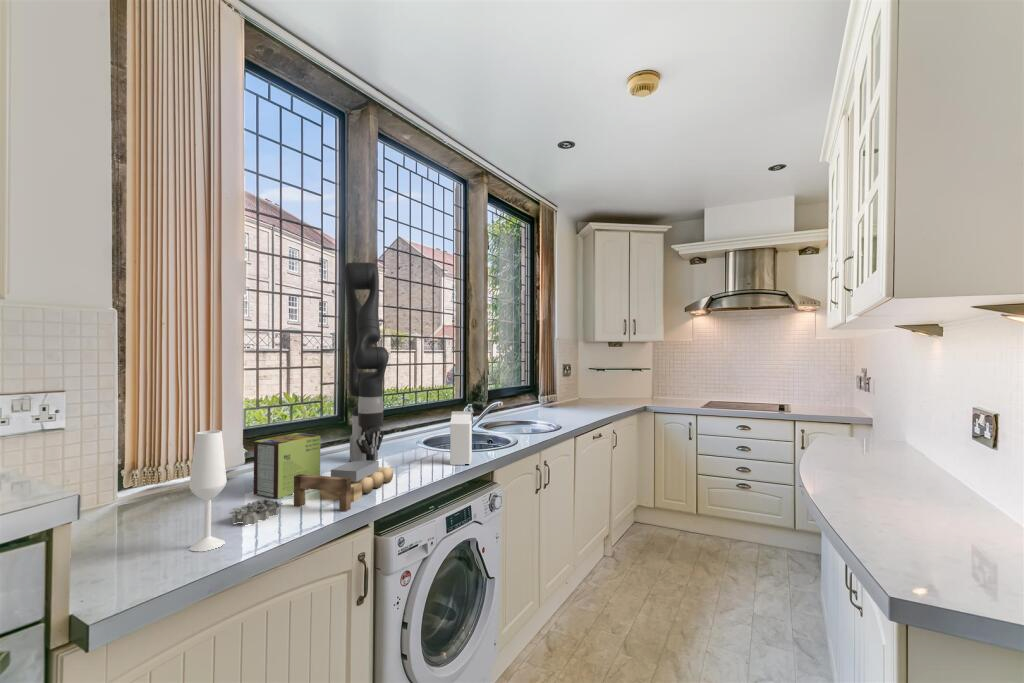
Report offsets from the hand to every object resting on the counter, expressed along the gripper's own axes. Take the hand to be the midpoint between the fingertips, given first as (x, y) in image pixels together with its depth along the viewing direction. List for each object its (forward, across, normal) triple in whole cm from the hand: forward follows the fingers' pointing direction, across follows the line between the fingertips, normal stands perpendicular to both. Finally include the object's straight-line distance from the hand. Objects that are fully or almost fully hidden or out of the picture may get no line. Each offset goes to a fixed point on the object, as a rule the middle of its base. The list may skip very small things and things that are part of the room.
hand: (370, 465), depth 150 cm
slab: (+1, -9, 0) cm, 9 cm away
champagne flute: (+4, -52, +8) cm, 53 cm away
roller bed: (+5, -4, 0) cm, 7 cm away
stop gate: (+5, -24, 0) cm, 25 cm away
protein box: (+6, -13, +20) cm, 24 cm away
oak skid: (+5, -16, 0) cm, 17 cm away
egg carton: (+5, -35, +11) cm, 37 cm away
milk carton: (+6, +32, -18) cm, 37 cm away
